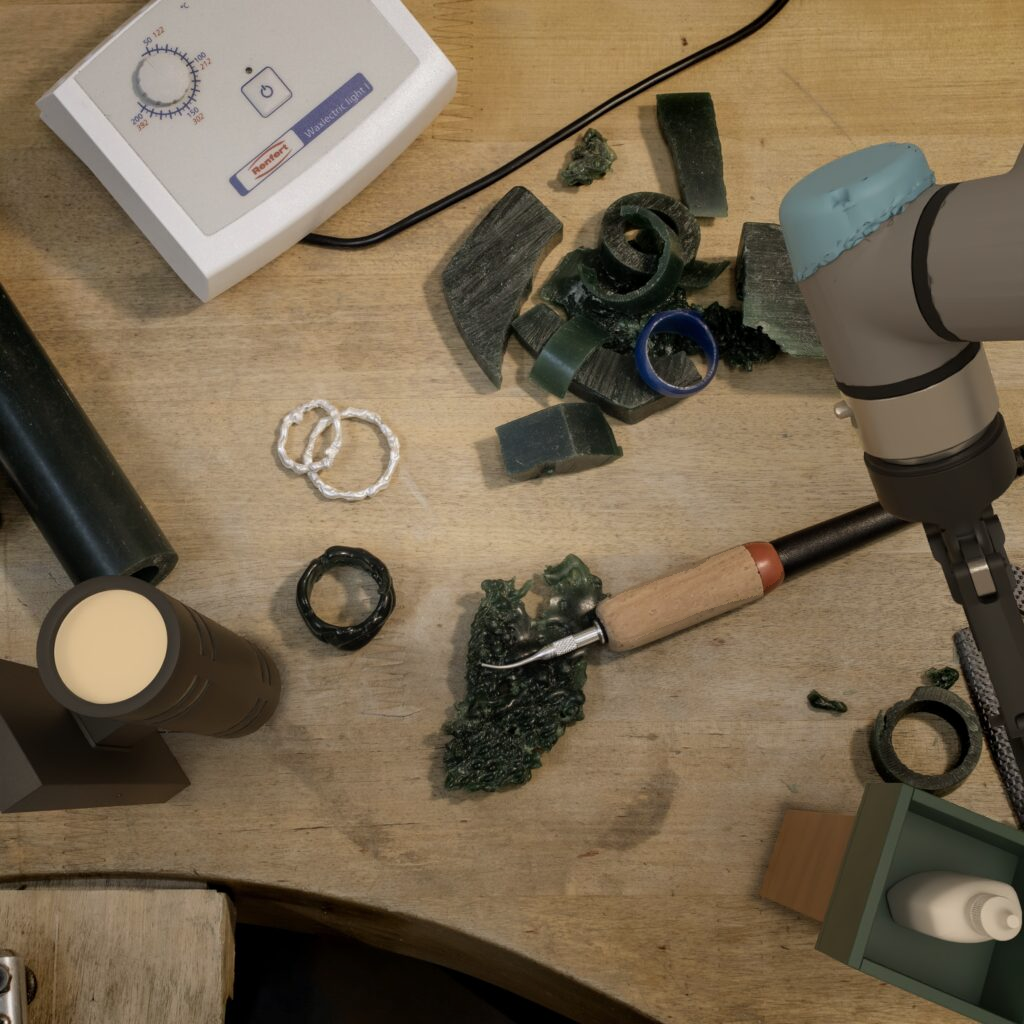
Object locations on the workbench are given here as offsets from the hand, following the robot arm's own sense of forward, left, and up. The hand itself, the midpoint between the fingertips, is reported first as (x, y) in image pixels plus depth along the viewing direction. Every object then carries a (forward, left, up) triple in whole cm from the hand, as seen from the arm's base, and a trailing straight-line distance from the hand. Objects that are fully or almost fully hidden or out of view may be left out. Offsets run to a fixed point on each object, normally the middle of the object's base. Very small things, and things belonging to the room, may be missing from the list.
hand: (1022, 709), depth 67 cm
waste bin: (0, +13, -8) cm, 15 cm away
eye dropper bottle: (0, +13, -7) cm, 15 cm away
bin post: (0, +13, -33) cm, 35 cm away
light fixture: (+57, +21, -33) cm, 69 cm away
